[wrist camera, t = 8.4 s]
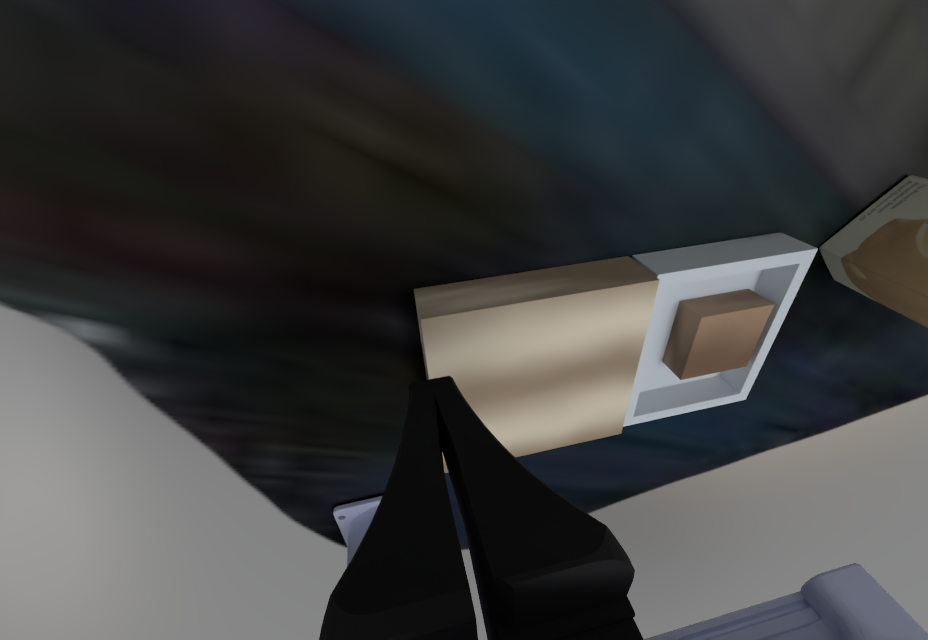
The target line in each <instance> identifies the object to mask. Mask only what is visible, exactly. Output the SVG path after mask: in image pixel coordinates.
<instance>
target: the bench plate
mask: <svg viewBox="0 0 928 640" xmlns="http://www.w3.org/2000/svg"><path fill="white" fill-rule="evenodd" d="M658 284H659V279H658V278H657V277H655V276H654V275H653V274H651V273H650V272H649V271H647V270H646V269H645V268H643V267H642V266H641V265H639V264H638V263H637V262H635V261H634V260H633V259H631V258H630V257H629V256H625V257H618V258H612V259H605V260H599V261H592V262H586V263H579V264H573V265H566V266H560V267H553V268H547V269H540V270H534V271H527V272H521V273H515V274H508V275H502V276H495V277H489V278H482V279H476V280H469V281H463V282H456V283H450V284H443V285H437V286H430V287H424V288H417V289H414V295H415V302H416V309H417V316H418V323H419V330H420V337H421V343H422V350H423V357H424V364H425V371H426V378H427V380H429V379H434V378H440V377H445V376H451V377H452V378H453V379H454V381H455V383H456V385H457V387H458V389H459V390H460V392H461V394H462V395H463V397H464V398H465V400H466V401H467V402H468V404H469V405H470V407H471V408H472V409H473V411H474V412H475V413H476V415H477V416H478V417H479V418H480V420H481V421H482V422H483V423H484V425H485V426H486V427H487V428H488V429H489V431H490V432H491V433H492V434H493V435H494V436H495V437H496V438H497V439H498V441H499V442H500V443H501V444H502V445H503V446H504V447H505V448H506V449H507V450H508V451H509V452H510V453H511V454H512V455H513V456H514V457H518V456H523V455H527V454H532V453H536V452H541V451H545V450H550V449H554V448H559V447H563V446H568V445H572V444H576V443H581V442H585V441H590V440H594V439H599V438H603V437H608V436H612V435H617V434H621V432H622V428H623V424H624V420H625V416H626V412H627V408H628V404H629V400H630V396H631V392H632V388H633V384H634V380H635V376H636V372H637V368H638V364H639V360H640V356H641V352H642V348H643V344H644V340H645V336H646V332H647V328H648V324H649V320H650V316H651V312H652V308H653V304H654V300H655V296H656V292H657V288H658ZM442 454H443V452H442ZM443 464H444V473H447V472H448V469H447V466H446V462H445V459H444V456H443Z"/></svg>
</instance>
